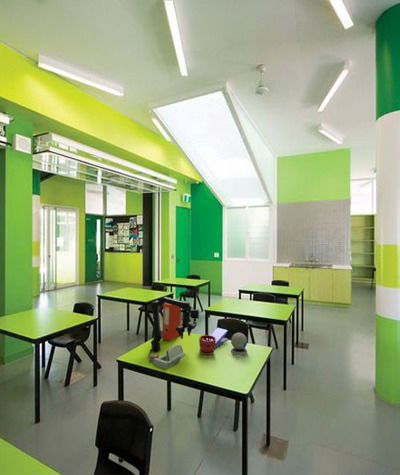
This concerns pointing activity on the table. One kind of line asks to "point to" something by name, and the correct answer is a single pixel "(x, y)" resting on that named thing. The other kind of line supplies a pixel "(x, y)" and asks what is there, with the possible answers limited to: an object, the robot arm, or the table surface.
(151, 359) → the spacer block
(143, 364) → the table surface
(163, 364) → the channel jig
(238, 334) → the webcam
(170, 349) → the hinge
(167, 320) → the file binder
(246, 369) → the table surface
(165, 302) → the robot arm
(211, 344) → the plant pot
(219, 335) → the stapler
